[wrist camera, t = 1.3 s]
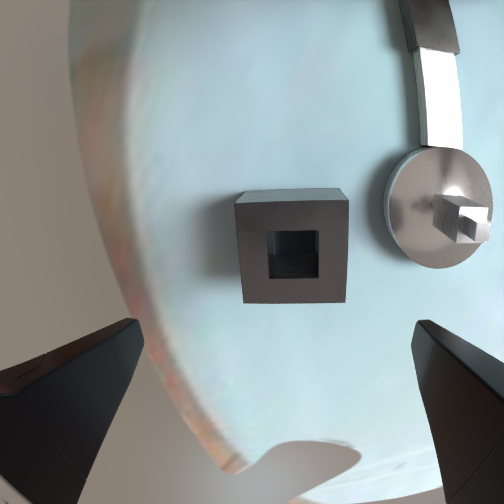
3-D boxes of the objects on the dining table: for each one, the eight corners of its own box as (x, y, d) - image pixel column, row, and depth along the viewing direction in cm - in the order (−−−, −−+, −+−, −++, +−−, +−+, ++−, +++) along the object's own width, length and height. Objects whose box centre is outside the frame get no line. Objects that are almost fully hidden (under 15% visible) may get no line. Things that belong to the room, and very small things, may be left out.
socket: (339, 188, 19) (348, 199, 15) (338, 274, 21) (345, 302, 17) (246, 190, 20) (234, 203, 16) (253, 275, 22) (243, 303, 18)
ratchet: (463, 6, 12) (505, -23, 6) (473, 257, 19) (517, 296, 13) (363, -13, 14) (383, -61, 8) (380, 260, 20) (407, 307, 14)
